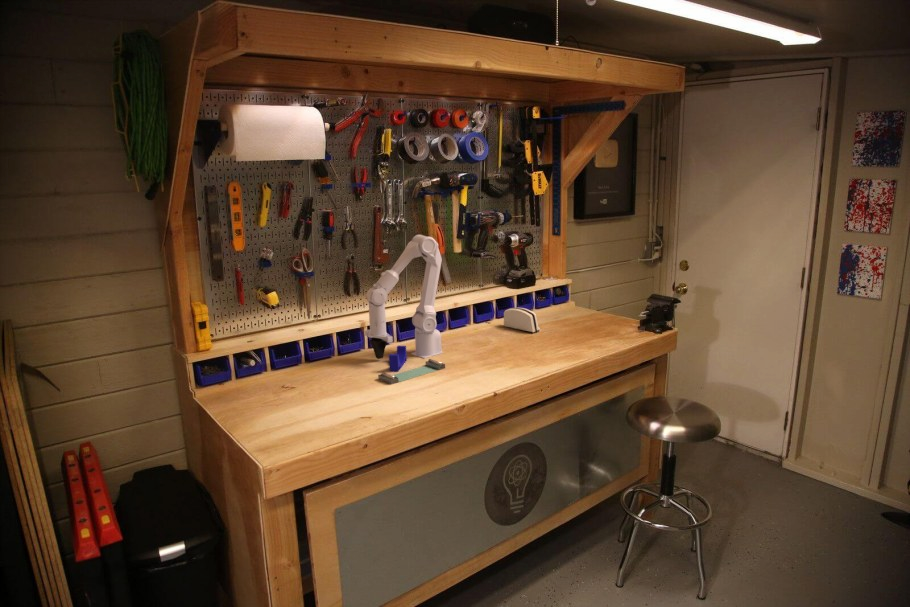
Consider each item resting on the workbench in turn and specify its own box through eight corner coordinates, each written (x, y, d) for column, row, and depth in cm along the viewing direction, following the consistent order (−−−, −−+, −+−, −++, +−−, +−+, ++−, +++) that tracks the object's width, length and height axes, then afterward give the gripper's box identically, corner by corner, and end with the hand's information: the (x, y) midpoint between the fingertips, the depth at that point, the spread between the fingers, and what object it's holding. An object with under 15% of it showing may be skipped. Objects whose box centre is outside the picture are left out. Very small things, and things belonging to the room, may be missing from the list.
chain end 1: (385, 377, 203) (385, 370, 202) (398, 382, 198) (398, 375, 197) (378, 379, 201) (378, 372, 200) (390, 384, 196) (390, 377, 195)
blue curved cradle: (394, 361, 220) (393, 345, 219) (406, 361, 220) (406, 345, 218) (385, 372, 209) (384, 355, 208) (398, 372, 208) (397, 355, 207)
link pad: (424, 366, 213) (424, 365, 213) (437, 370, 208) (437, 370, 208) (387, 376, 203) (387, 376, 203) (399, 381, 198) (399, 381, 198)
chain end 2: (432, 363, 216) (431, 357, 215) (445, 368, 211) (444, 361, 210) (425, 365, 214) (425, 359, 213) (438, 370, 209) (438, 363, 208)
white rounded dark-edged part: (541, 332, 254) (539, 309, 251) (533, 335, 251) (532, 312, 248) (510, 325, 266) (508, 303, 263) (503, 329, 263) (501, 306, 260)
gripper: (356, 320, 219) (359, 356, 222) (380, 326, 209) (382, 364, 211) (373, 316, 224) (375, 352, 227) (396, 323, 213) (398, 360, 216)
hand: (379, 358), depth 219 cm, fingers closed
